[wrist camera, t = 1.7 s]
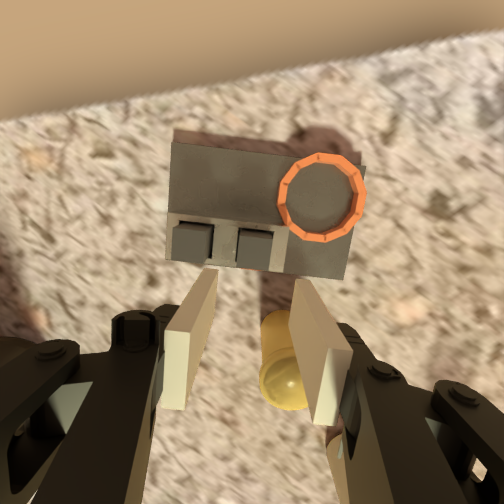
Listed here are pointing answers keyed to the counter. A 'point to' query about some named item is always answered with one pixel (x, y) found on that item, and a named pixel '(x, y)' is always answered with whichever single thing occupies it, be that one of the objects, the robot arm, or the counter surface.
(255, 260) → the block
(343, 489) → the beverage can
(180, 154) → the breaker panel
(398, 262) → the counter surface
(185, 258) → the block
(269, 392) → the cap
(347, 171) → the orange ring
